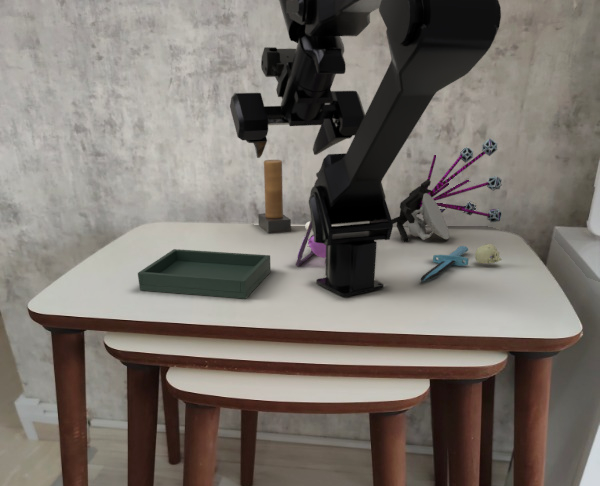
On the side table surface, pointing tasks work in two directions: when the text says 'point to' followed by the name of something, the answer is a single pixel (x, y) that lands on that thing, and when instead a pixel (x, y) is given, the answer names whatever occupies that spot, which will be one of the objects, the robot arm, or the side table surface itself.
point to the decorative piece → (417, 195)
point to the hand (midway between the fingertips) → (286, 153)
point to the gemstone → (487, 254)
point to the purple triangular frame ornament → (315, 247)
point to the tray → (205, 273)
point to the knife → (446, 262)
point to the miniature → (429, 220)
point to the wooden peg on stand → (273, 199)
